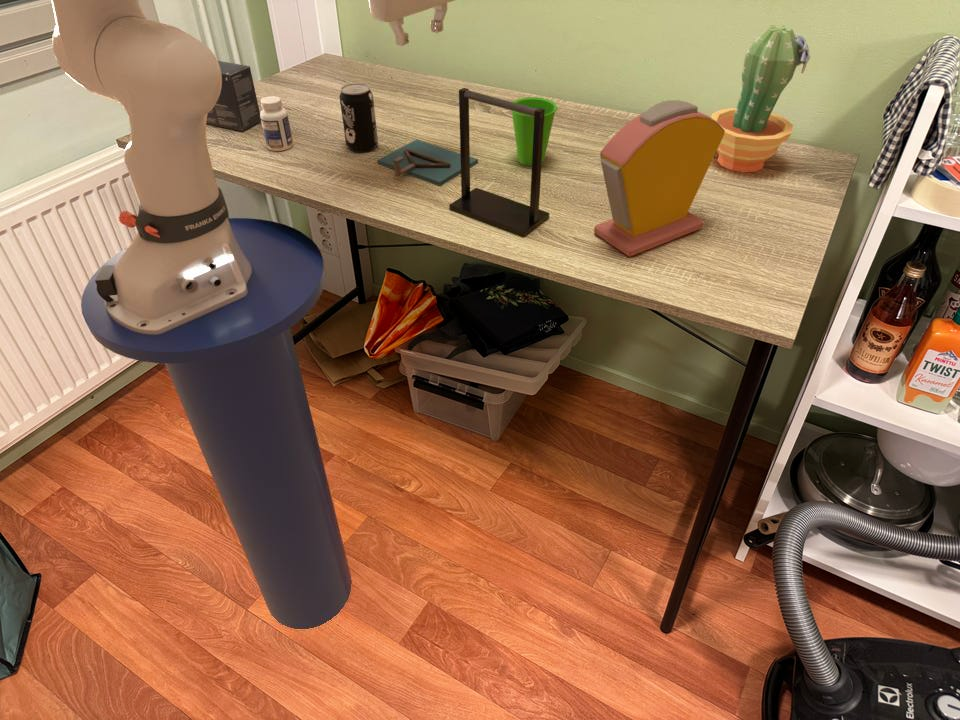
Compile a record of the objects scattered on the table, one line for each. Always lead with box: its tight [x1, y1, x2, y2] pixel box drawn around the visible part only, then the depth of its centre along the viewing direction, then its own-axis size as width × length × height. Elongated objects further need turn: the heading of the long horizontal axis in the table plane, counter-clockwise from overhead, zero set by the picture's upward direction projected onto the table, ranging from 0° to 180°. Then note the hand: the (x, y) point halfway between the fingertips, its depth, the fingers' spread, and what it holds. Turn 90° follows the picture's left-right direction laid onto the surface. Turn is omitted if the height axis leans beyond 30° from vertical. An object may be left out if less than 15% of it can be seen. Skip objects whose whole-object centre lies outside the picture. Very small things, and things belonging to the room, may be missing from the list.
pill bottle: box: [260, 95, 294, 152], centre depth 138 cm, size 5×5×10 cm
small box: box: [206, 60, 261, 132], centre depth 147 cm, size 13×7×12 cm, turn 65°
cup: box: [511, 96, 558, 167], centre depth 132 cm, size 9×9×11 cm
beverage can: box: [339, 82, 379, 153], centre depth 137 cm, size 7×7×12 cm
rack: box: [448, 87, 550, 238], centre depth 113 cm, size 8×16×20 cm, turn 53°
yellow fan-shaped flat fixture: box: [593, 99, 725, 258], centre depth 108 cm, size 22×9×22 cm, turn 123°
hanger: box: [393, 149, 451, 178], centre depth 131 cm, size 3×12×10 cm
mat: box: [377, 139, 479, 187], centre depth 135 cm, size 12×16×1 cm
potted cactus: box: [710, 24, 811, 173], centre depth 127 cm, size 15×15×25 cm
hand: (420, 37), depth 119 cm, fingers open, 8 cm apart
